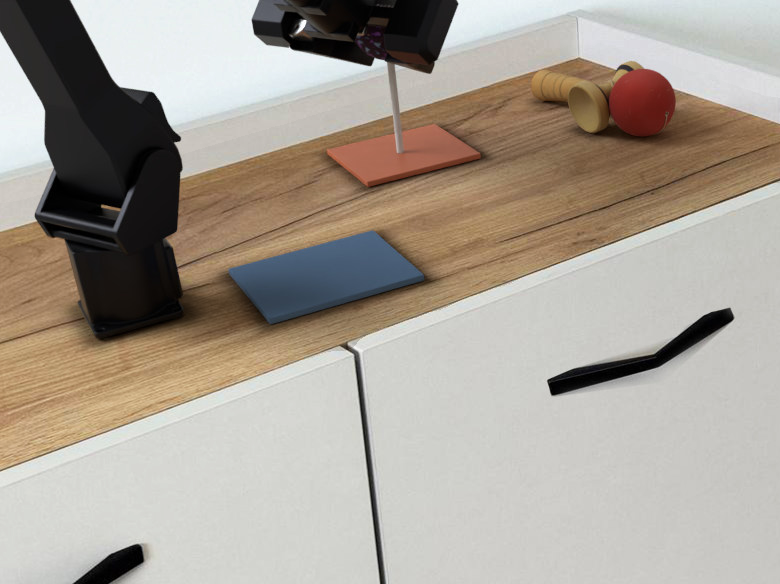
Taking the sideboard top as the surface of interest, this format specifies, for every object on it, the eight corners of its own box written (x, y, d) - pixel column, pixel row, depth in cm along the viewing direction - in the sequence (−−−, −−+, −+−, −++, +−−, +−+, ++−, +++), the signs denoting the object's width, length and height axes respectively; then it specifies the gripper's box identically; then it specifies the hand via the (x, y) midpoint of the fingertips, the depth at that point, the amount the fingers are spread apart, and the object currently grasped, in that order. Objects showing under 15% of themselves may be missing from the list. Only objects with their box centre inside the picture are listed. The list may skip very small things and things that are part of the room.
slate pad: (270, 324, 93) (269, 318, 93) (229, 274, 101) (227, 268, 101) (424, 280, 98) (424, 274, 97) (373, 235, 105) (373, 229, 105)
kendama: (509, 124, 129) (629, 143, 116) (508, 58, 128) (630, 69, 114) (571, 118, 134) (694, 135, 120) (571, 54, 132) (696, 64, 118)
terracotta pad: (367, 187, 114) (366, 181, 114) (327, 154, 122) (326, 149, 122) (481, 158, 118) (480, 153, 118) (435, 128, 126) (434, 123, 126)
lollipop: (394, 170, 116) (375, -3, 108) (347, 154, 120) (326, -13, 113) (453, 149, 120) (438, -19, 112) (406, 134, 124) (389, -29, 117)
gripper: (432, -119, 100) (519, -9, 114) (250, -126, 110) (351, -23, 123) (382, 11, 99) (476, 108, 112) (202, -7, 108) (309, 85, 121)
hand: (401, 64), depth 117 cm, fingers closed on lollipop, 6 cm apart
